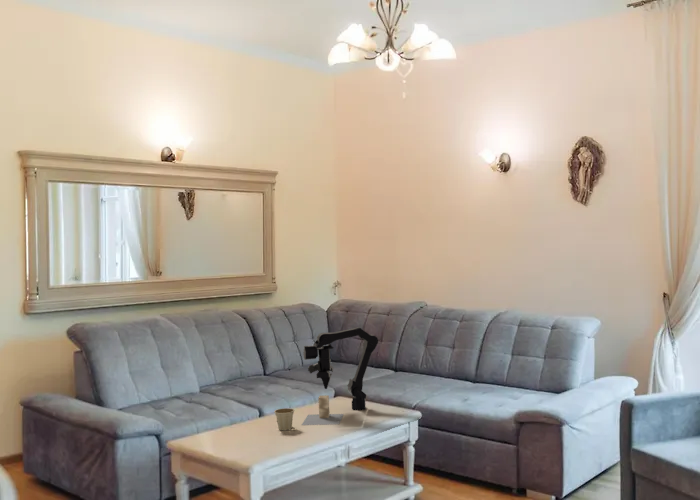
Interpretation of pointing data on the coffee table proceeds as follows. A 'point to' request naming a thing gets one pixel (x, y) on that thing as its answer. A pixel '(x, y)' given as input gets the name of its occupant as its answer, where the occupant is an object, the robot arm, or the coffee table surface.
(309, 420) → the mat
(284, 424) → the flower pot
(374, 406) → the coffee table surface
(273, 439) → the coffee table surface
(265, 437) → the coffee table surface
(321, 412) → the birch block
